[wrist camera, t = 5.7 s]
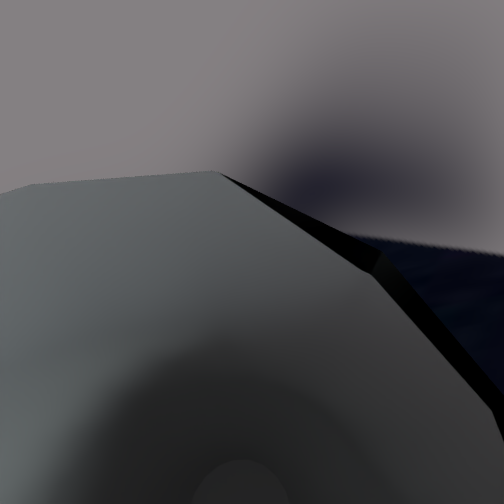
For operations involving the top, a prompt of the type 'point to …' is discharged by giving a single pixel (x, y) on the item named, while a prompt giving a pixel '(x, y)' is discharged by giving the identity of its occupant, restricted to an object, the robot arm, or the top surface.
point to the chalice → (224, 357)
